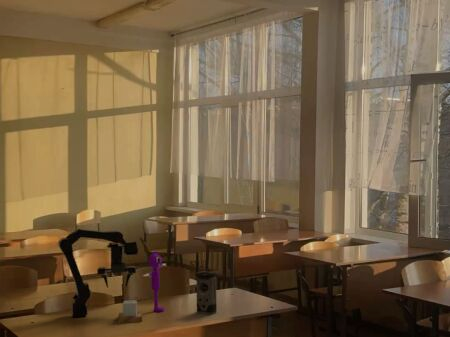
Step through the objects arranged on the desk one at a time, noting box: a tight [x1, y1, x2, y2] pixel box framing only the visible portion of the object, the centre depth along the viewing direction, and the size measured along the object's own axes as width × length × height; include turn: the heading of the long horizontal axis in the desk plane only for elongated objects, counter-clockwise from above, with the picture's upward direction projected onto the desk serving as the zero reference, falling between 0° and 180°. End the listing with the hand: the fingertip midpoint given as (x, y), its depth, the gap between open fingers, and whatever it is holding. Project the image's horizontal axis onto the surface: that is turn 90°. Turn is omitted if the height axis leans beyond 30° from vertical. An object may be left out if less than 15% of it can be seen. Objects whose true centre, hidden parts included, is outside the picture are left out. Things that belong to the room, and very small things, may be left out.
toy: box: [142, 250, 168, 313], centre depth 307 cm, size 34×8×30 cm, turn 169°
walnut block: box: [117, 311, 143, 324], centre depth 290 cm, size 11×10×3 cm
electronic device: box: [196, 270, 218, 315], centre depth 303 cm, size 9×6×20 cm, turn 62°
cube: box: [122, 300, 138, 316], centre depth 290 cm, size 6×6×6 cm
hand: (116, 287), depth 305 cm, fingers open, 9 cm apart
